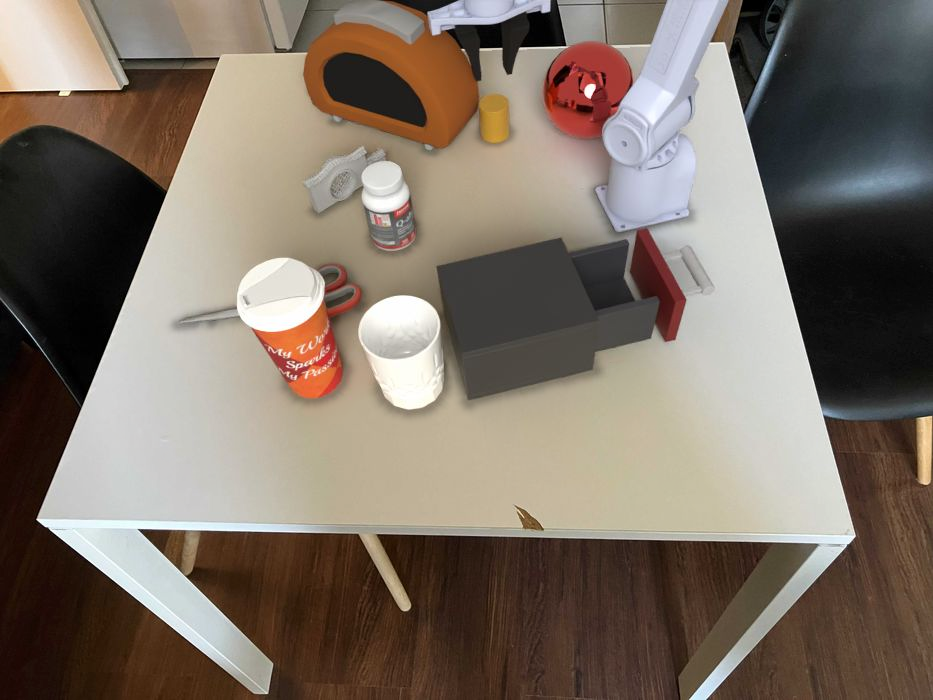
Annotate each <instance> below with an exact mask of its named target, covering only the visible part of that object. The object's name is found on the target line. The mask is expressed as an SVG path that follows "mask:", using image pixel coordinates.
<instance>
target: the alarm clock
mask: <svg viewBox="0 0 933 700" xmlns="http://www.w3.org/2000/svg"><path fill="white" fill-rule="evenodd" d="M332 17H333V20H334V22H332V24H331V25H329V27H327V28H326V29H325V30H324V31H323V32H322V33H321V34H320V35H318V36H317V37H316V38H315V39H314V40H313V41H312V42H310V43H311V44H310V45H309V48H308V50H307V53H306V54H305V55H306V56H305V57H304V63H303V64H304V65H303V71H302V77H303V80H304V84H305V88H306V92H307V94H308V96H309V98H310V100H311V103H312V105H313V106H315V107H316V108H317V109H318V110H319V111H320V112H321V113H324V114H326V115H331V116H332V118H333V120H334V121H335V122H337V123H340V122H342V120H346V121H350V122H354V123H357V124H360V125H362V126H366V127H369V128H372V129H376V130H379V131H382V132H386V133H389V134H392V135H395V136H398V137H402V138H405V139H407V140H410V141H411V140H412V141H415V142H417V143H421V144H423V146H424V148H425V150H427V151H431V152H432V150H433V149H434V148H436V149H443V148H445V147H448V146H449V145H451V144H452V142H453V141H454V140H455V139H456V138H457V137H458V135H459V134H460V133H461V131H463V129H464V127H466V126H467V124H468V123H469V122H470V121H471V119H472V118H473V117H474V116H475V114H476V113H477V112H478V111H479V101H480V92H479V91H480V90H479V81H476V80H475V78H474V76H473V73H472V68H471V64H470V60H469V58H468V56H467V55H466V54H465V52H464V51H463V48H461V47H460V45H459V44H458V42H457V40H456V39H455V38H454V37H453V36H452V35H451V34H449V32H448V31H447V30H442V31H441V33H440V34H438V35H432V33H431V31H430V28H429V22H428V14H425V13H424V12H422V11H421V10H418V9H415V8H412V7H411V6H410V7H409V6H406V5H404V4H401V3H399V2H395V1H391V0H349V1H347V3H345V4H344V5H343V6H342V7H340V8H339V10H337V12H335V13H334V14H333V16H332Z"/></svg>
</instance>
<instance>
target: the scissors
mask: <svg viewBox="0 0 933 700" xmlns="http://www.w3.org/2000/svg"><path fill="white" fill-rule="evenodd" d="M316 270H317V271H318V272H319V273H320V275H321V276H322V277H324V276H326V275H328V274H332V273H333V274H338V277H337V278H336V279H335V280H334V281H333V282H331V283H329V284H328V283H327V284H325V287H324V301H325V304H327V303H329V302H331V301H334V300H337V299H339V298H341V297H343V296H345V295H348V294H350V293H353V294H352V296H351V298H349V299H348V300H346V301H344V302H342V303H340V304H338V305H334V306H333V307H329V308H327V312H328V315H329V319H331V318H333V317H336V316H339V315H342V314H344V313H346V312H348V311H350V310H351V309H353V308H355V307H356V306H357V305H359V303H360V301H361V299H362V296H363V295H362V293H363V292H362V289H361V288H360V287H359V286H358V285H357V284H355V283H347V284H346V281H347V278H348V275H347V274H348V273H347V270H345V268H344V267H343V266H341V265H339V264H335V263H329V264H325V265H323V266H321V267H319V268H318V269H316ZM239 317H240V315H239V313H238V310H237V307H236V308H232V309H227V310H222V311H218V312H211V313H207V314H202V315H198V316H197V315H196V316H192V317H187V318H184V319H183V320H180V321H178V323H179V324H182V323H194V322H205V321H213V320H214V321H215V320H222V319H230V318H239Z"/></svg>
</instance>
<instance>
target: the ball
mask: <svg viewBox="0 0 933 700" xmlns="http://www.w3.org/2000/svg"><path fill="white" fill-rule="evenodd" d="M635 81H636V79H635V74H634V71H633V68H632V66H631V63H630V62H629V61H628V59H627V58H626V57H625V56H624V54H623V53H622V52H621V51H620V50H618V49H617V48H615V47H614V46H613V45H611V44H608V43H606V42H602V41H599V40H598V41H597V40H585V41H581V42H577V43H574V44H572V45H570V46H568V47H566V48H565V49H563V50H562V51H561V52H560V53H559V54H557V56H556V57H555V58H554V59H553V60H552V61H551V62H550V64H549V66H548V68H547V70H546V72H545V75H544V78H543V81H542V87H541V88H542V91H541V93H542V94H541V97H542V99H541V100H542V104H543V107H544V111H545V112H546V115H547V117H548V119H549V120H550V122H551V123H552V124H553V125H554V126H555V127H556V129H558V130H559V131H561V132H562V133H564V134H566V135H567V136H571V137H572V138H576V139H582V140H583V139H584V140H589V139H596V138H599V137H602V128H603V125H604V124H605V122H606V121H607V119H609V118H610V117H611V116H613V115H614V114H615V113H616V112H617V110H618V108H619V105H620V103H621V101H622V99H623V98H624V97H625V95H626V94H627V92H628V91H629V90H630V88H631V87H632V85H633V84H634V83H635Z"/></svg>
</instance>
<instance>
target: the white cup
mask: <svg viewBox="0 0 933 700" xmlns="http://www.w3.org/2000/svg"><path fill="white" fill-rule="evenodd" d="M357 333H358V335H357V336H358V339H359V342H360V344H361V347H362V349H363V352H364V355H365V358H366V359H367V362H368V365H369V367H370V369H371V371H372V373H373V375H374V378H375V380H376V381H377V384H378V385H379V386H380V389H381V391H382V394H383V396H384V398H385V399H386V400H387V401H388V402H390V403H391V405H393V406H394V407H397V408H401V409H405V410H416V409H422V408H424V407H426V406H428V405H430V404H431V403H433V402H435V401H436V399H437V398H438V397H439V395H440V394H441V393H442V392H443V389H444V382H445V372H444V371H445V370H444V369H445V368H444V367H445V365H444V363H445V361H444V349H443V348H444V347H443V339H442V338H443V337H442V327H441V319H440V316H439V313H438V312H437V310H436V308H435V307H434V306H433V305H432V304H431V303H430V302H428V301H427V300H425V299H423V298H420V297H417V296H414V295H404V294H400V295H399V294H398V295H392V296H388V297H385V298H383V299H381V300H379V301H377V302H376V303H374V304H373V305H371V306H369V308H368V309H367V310H366V311H365V312H364V314H363V315H362V317H361V319H360V320H359V324H358V330H357Z"/></svg>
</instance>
